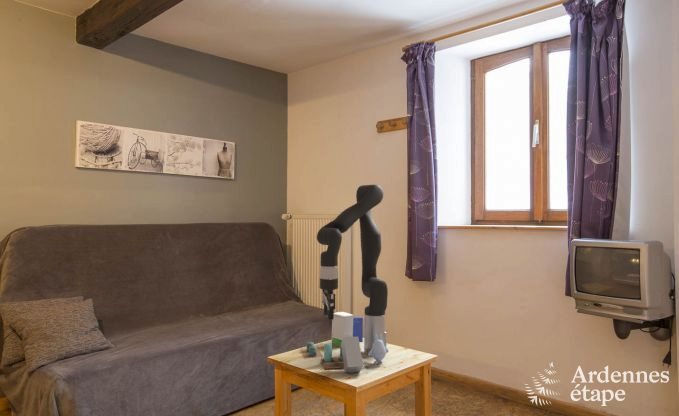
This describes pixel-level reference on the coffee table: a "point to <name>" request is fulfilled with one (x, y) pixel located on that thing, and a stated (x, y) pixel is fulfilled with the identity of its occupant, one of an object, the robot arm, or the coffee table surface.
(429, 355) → the coffee table surface
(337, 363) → the board
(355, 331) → the walkman
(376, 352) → the toy figure
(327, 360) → the pin
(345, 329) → the skincare box
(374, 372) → the coffee table surface
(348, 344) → the white rectangular block
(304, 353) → the board
